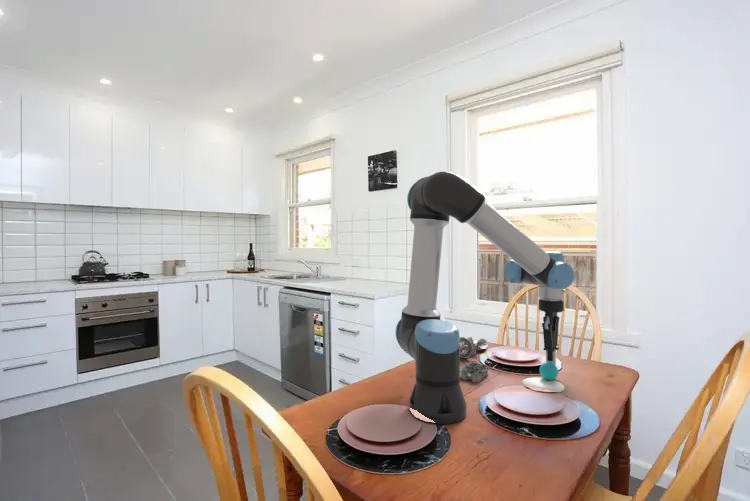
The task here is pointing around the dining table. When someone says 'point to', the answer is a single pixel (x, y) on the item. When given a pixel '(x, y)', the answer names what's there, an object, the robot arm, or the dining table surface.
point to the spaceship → (471, 346)
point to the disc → (544, 384)
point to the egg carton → (474, 371)
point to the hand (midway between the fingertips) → (551, 369)
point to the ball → (548, 371)
